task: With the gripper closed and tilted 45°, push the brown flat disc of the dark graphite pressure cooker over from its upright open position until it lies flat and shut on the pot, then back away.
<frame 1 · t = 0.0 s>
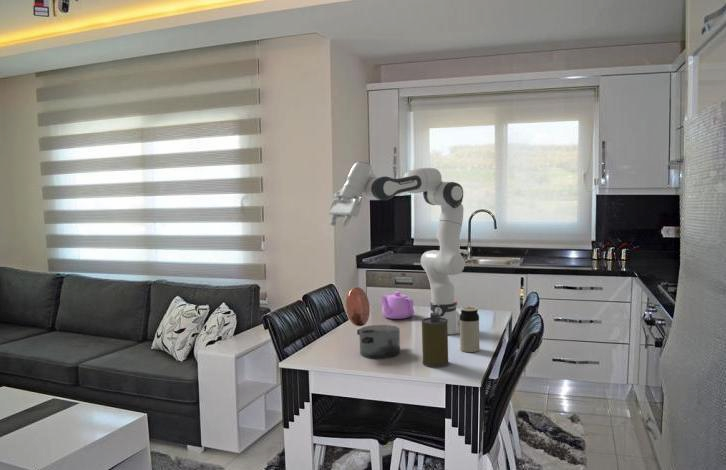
hand: (337, 225, 235), 54 cm above the table, tool tilted 30°, fingers open, 8 cm apart
travel mug: (469, 350, 235), on the table
cooker pot: (380, 352, 236), on the table
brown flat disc: (356, 306, 240), point 19 cm above the table, hinge at 100.0°
teapot: (395, 318, 301), on the table
canister: (435, 363, 219), on the table
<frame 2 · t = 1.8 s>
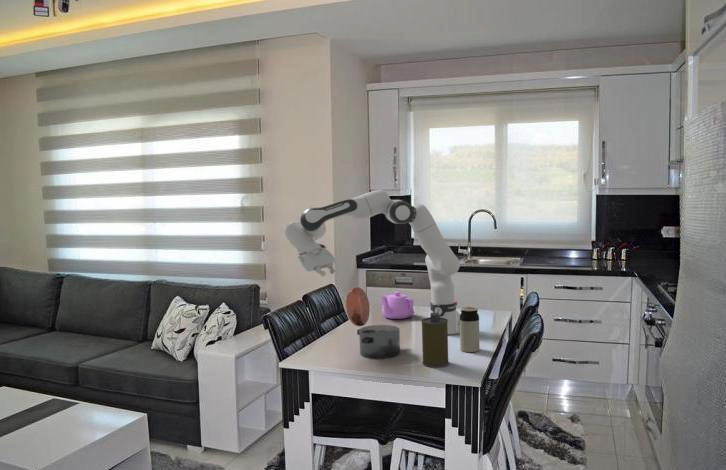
hand: (329, 274, 245), 32 cm above the table, tool tilted 45°, fingers open, 6 cm apart
nothing on the table moved.
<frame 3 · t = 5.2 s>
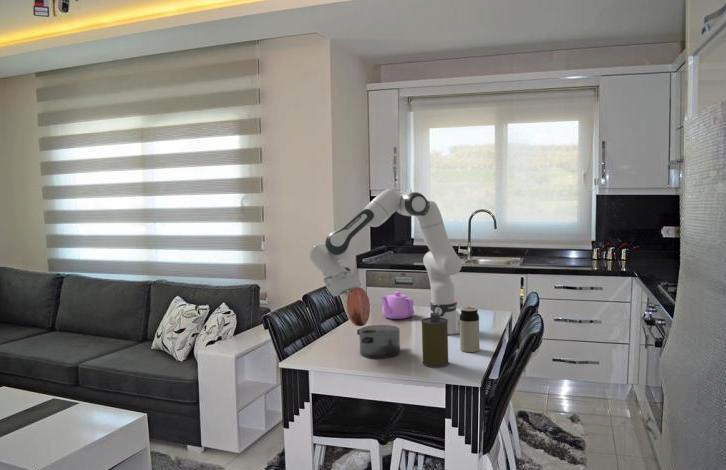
hand: (355, 298, 240), 22 cm above the table, tool tilted 45°, fingers closed, pressing on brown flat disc
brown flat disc: (357, 306, 239), point 19 cm above the table, hinge at 98.1°, touching gripper
everything else where it was.
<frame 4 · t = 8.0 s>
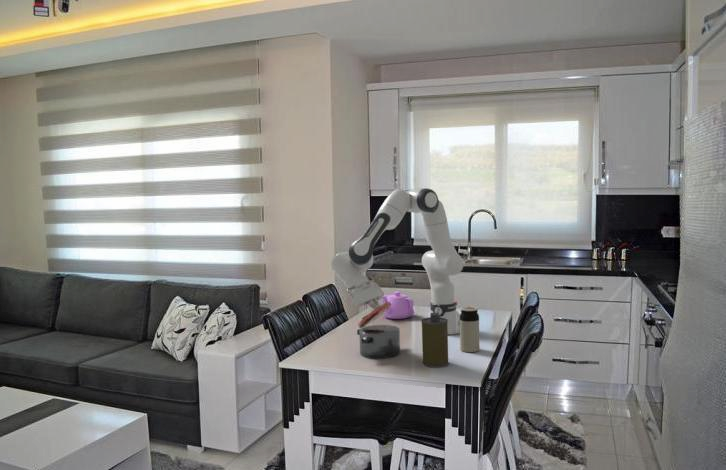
hand: (378, 309, 234), 19 cm above the table, tool tilted 45°, fingers closed, pressing on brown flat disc
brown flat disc: (373, 313, 236), point 17 cm above the table, hinge at 39.7°, touching gripper
everything else where it was.
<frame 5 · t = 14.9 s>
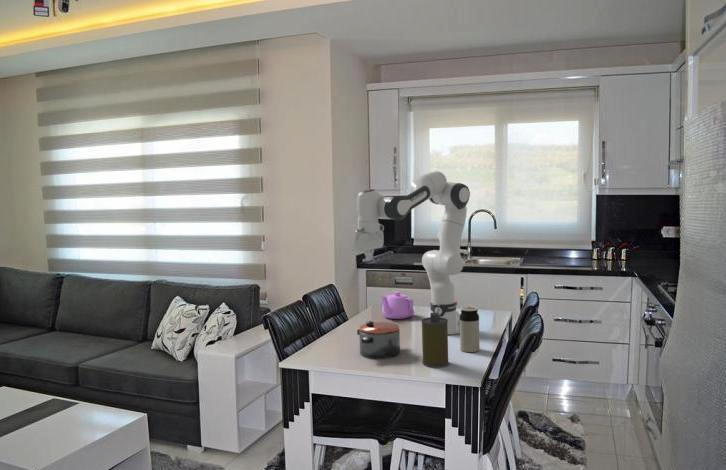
hand: (369, 260, 237), 39 cm above the table, tool pointing down, fingers closed
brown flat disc: (379, 326, 235), point 11 cm above the table, hinge at -0.2°, touching cooker pot
everything else where it was.
at the end: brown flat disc at +0° (first picture: +100°); canister moved 0.2 cm from its start; travel mug moved 0.2 cm from its start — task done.
